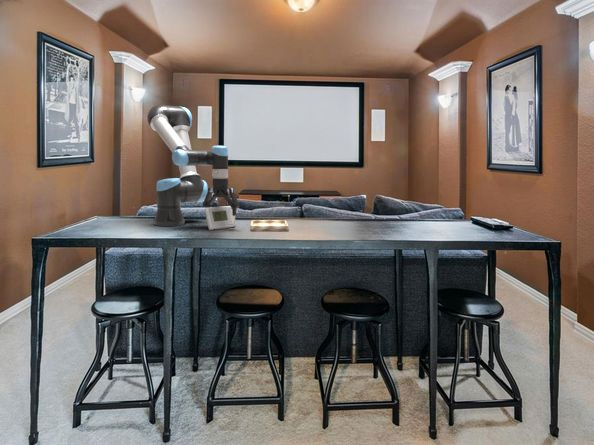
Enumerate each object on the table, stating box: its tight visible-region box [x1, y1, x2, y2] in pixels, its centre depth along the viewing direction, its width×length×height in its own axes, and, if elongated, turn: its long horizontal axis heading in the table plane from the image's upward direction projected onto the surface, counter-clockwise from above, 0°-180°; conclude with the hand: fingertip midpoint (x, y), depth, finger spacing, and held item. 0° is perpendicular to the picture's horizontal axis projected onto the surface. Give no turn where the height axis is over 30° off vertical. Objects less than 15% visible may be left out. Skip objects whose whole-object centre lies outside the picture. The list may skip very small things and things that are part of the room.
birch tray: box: [249, 219, 289, 232], centre depth 217 cm, size 18×20×2 cm
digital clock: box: [204, 205, 237, 231], centre depth 213 cm, size 16×9×11 cm, turn 123°
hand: (221, 221), depth 213 cm, fingers open, 13 cm apart
